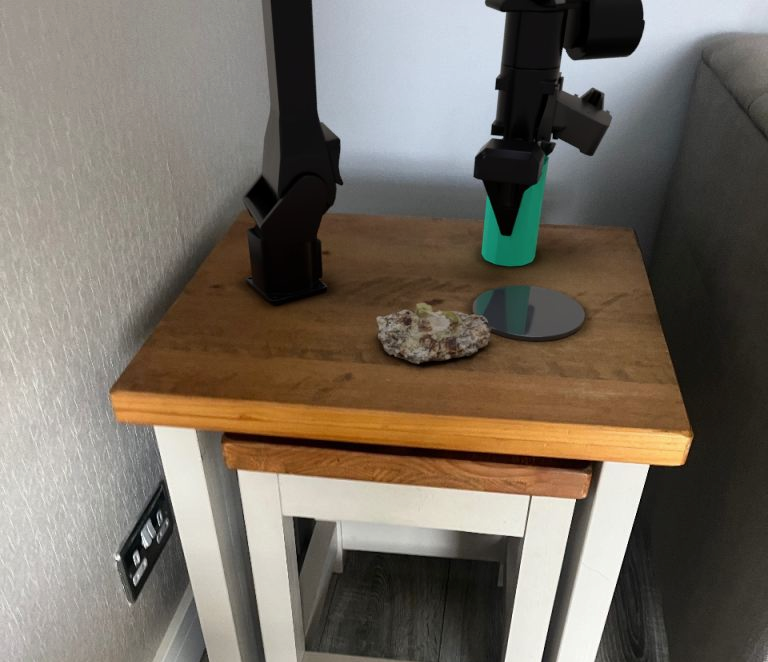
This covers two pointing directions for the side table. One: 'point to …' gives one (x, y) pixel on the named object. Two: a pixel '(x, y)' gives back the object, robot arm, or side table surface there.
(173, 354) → the side table surface
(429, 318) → the mineral rock
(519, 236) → the candle
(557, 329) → the slate coaster
